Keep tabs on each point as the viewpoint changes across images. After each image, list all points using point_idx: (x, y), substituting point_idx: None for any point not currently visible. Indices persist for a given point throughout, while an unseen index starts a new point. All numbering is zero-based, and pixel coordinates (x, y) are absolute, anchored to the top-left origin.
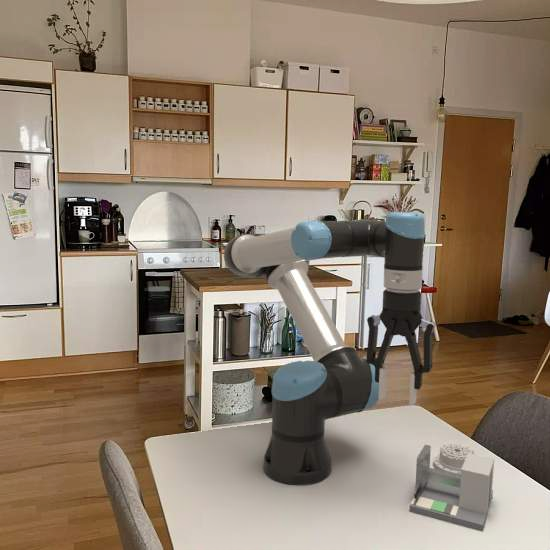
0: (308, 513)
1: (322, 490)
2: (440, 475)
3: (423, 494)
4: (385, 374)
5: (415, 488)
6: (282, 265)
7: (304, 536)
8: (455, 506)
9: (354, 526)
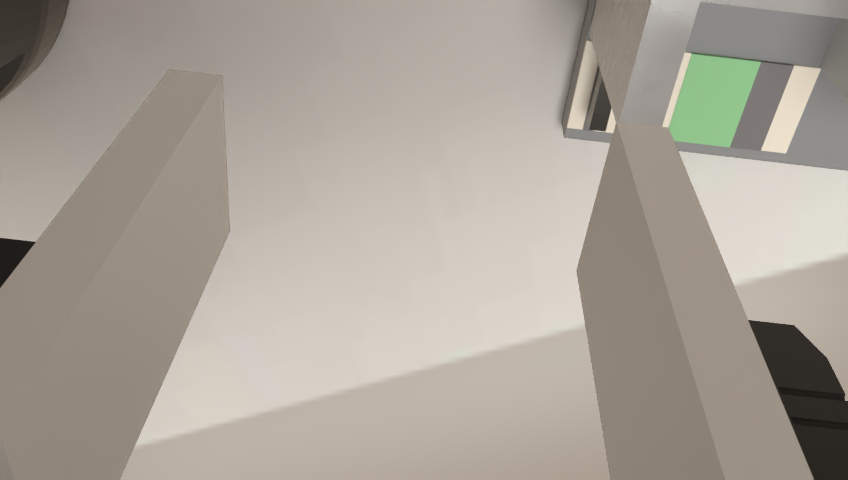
0: None
1: (120, 93)
2: (763, 6)
3: None
4: (95, 371)
5: (592, 41)
6: None
7: (222, 384)
8: (802, 72)
9: (358, 291)
